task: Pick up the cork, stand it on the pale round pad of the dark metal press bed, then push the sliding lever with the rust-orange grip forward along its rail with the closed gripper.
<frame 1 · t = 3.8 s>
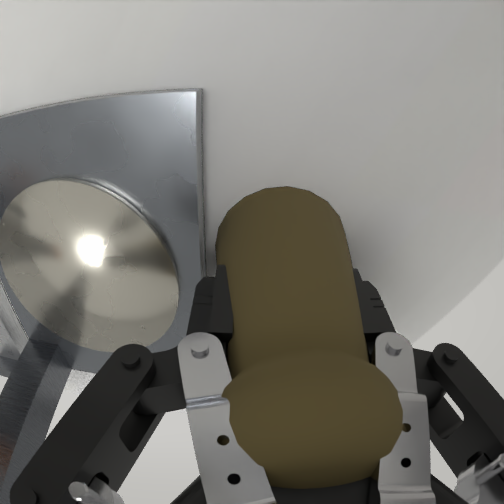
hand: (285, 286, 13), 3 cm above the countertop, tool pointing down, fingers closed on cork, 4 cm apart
press bed: (91, 259, 15), on the countertop
cork: (281, 245, 15), on the countertop, touching gripper
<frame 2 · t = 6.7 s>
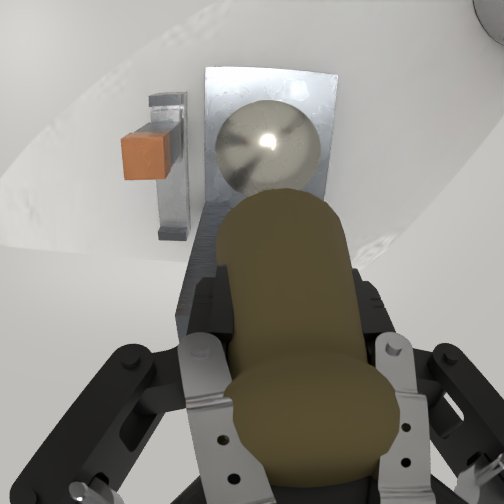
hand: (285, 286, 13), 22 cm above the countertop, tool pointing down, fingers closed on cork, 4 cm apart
lever: (156, 145, 25), point 6 cm above the countertop, slide at 0.0 cm
press bed: (267, 147, 31), on the countertop
lever rail: (173, 164, 32), on the countertop
cork: (280, 247, 15), point 19 cm above the countertop, touching gripper
when the fingers open (6 cm above the countertop, at t = 9.8 s): cork drops 1 cm, resting on press bed.
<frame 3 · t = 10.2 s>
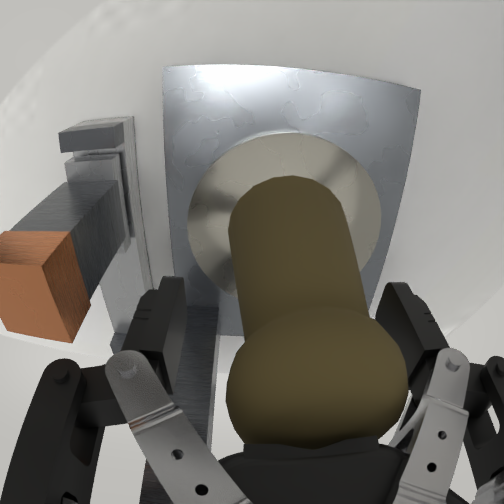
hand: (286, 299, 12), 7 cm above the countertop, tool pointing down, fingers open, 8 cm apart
lever: (67, 241, 12), point 6 cm above the countertop, slide at 0.0 cm
press bed: (283, 215, 18), on the countertop
lever rail: (122, 241, 19), on the countertop
cork: (287, 230, 17), point 2 cm above the countertop, touching press bed
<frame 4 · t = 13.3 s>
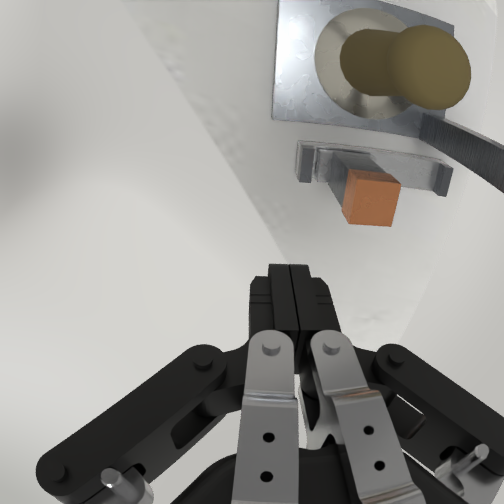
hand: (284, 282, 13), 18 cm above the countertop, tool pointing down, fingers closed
lever: (357, 182, 24), point 6 cm above the countertop, slide at 0.0 cm
press bed: (366, 62, 23), on the countertop
lever rail: (373, 163, 29), on the countertop
cork: (373, 62, 22), point 2 cm above the countertop, touching press bed
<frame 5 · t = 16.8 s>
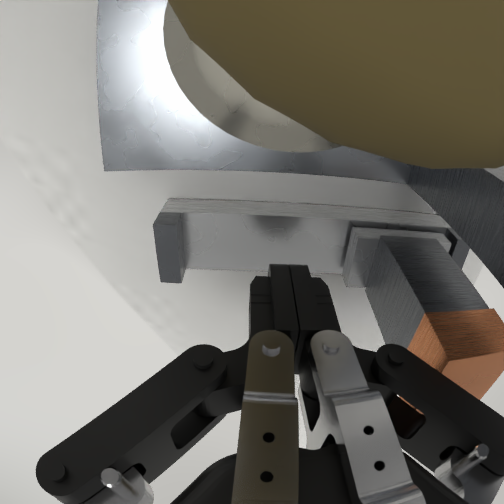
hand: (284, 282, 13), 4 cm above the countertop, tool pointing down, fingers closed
lever: (425, 307, 11), point 6 cm above the countertop, slide at 7.1 cm, touching hand
press bed: (293, 33, 11), on the countertop
lever rail: (318, 231, 16), on the countertop
cork: (298, 27, 10), point 2 cm above the countertop, touching press bed
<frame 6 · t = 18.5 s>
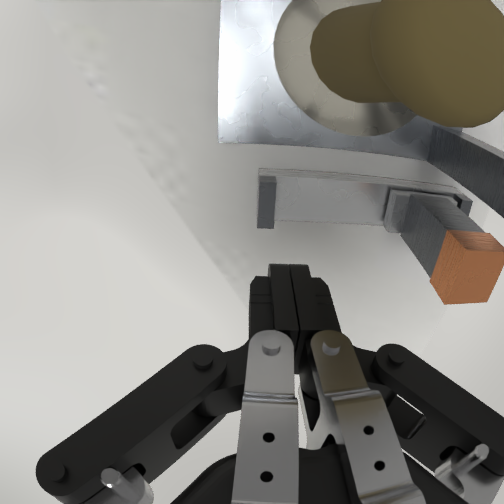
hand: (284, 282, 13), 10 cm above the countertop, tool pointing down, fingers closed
lever: (444, 239, 17), point 6 cm above the countertop, slide at 7.0 cm
press bed: (352, 56, 17), on the countertop
lever rail: (365, 195, 22), on the countertop
cork: (360, 54, 15), point 2 cm above the countertop, touching press bed
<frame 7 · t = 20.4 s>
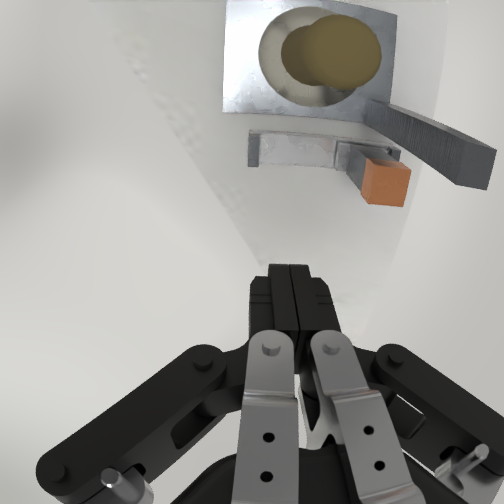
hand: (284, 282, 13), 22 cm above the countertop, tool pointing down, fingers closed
lever: (373, 170, 27), point 6 cm above the countertop, slide at 7.0 cm
press bed: (310, 56, 26), on the countertop
lever rail: (322, 149, 32), on the countertop
cork: (313, 55, 25), point 2 cm above the countertop, touching press bed
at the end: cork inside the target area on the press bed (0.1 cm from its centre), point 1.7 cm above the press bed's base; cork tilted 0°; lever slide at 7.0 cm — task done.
